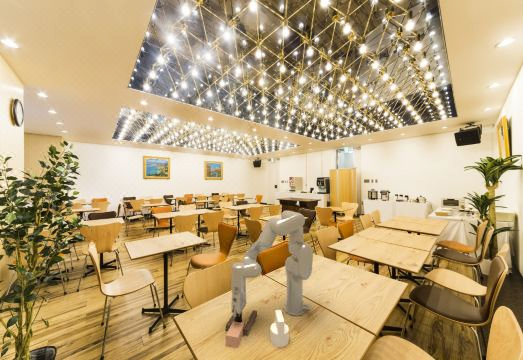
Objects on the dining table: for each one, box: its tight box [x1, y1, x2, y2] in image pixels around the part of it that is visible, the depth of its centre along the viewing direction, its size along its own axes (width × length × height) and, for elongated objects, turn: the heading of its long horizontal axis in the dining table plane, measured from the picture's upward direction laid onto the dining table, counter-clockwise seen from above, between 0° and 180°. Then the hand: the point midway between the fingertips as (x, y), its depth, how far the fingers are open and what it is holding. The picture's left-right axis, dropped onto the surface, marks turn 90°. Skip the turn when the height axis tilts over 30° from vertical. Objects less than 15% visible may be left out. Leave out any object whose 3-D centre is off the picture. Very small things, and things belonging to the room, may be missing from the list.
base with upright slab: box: [269, 309, 290, 348], centre depth 103 cm, size 9×9×12 cm
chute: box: [225, 309, 258, 337], centre depth 115 cm, size 12×16×3 cm
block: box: [225, 322, 245, 348], centre depth 104 cm, size 6×10×5 cm, turn 168°
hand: (238, 322), depth 111 cm, fingers closed
